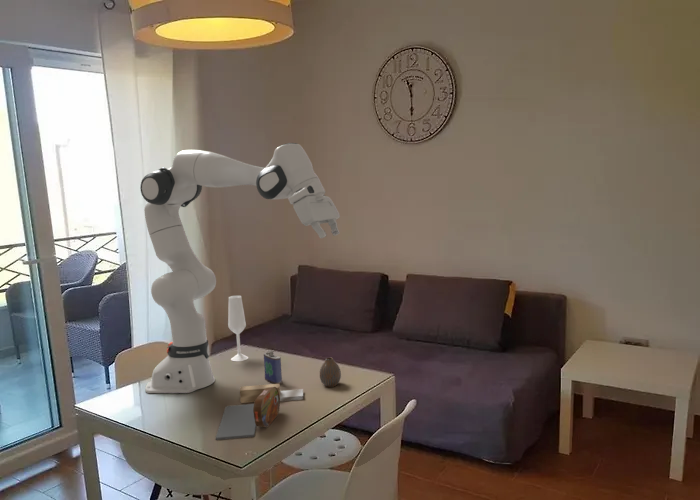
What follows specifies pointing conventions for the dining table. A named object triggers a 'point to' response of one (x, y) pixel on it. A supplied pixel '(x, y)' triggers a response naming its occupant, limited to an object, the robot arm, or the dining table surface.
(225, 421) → the mat
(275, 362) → the flask
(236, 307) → the champagne flute
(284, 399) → the turner
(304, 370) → the dining table surface
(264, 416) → the tin
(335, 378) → the vase
